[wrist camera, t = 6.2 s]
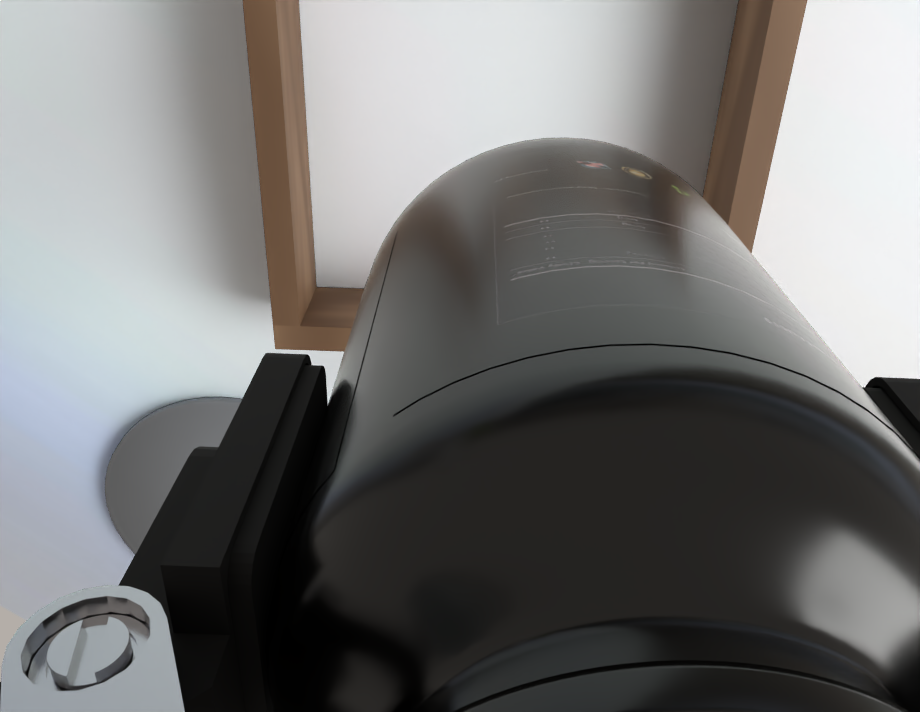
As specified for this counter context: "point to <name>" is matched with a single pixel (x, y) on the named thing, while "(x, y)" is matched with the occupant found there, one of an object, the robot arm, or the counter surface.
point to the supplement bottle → (593, 470)
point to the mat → (159, 460)
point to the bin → (287, 164)
